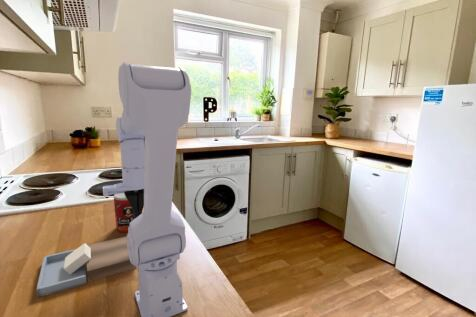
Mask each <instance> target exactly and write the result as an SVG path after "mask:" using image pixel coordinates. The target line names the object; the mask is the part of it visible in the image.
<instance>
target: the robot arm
mask: <svg viewBox="0 0 476 317" xmlns="http://www.w3.org/2000/svg"><path fill="white" fill-rule="evenodd" d="M117 81H118V91H119V92H118V94H119V99H120V101H121V104H122V107H123V108H122V109H123V111H122V114H121V116H117V117H116V121H115V129H116V130H115V131H116V136H117V139H118V142H119V147H120V148H119V150H120V163H121V176H122V182H120V183H115V184H111V185H104V186H102V196H103V198H104V197H109V196H111V195H113V196H114V194H120V193H124V194H125V196H126V198H127V200H128V201H129V203H130V205H131V207H132V210H133V214H134V218H135V219H134V220H133V221H132V222H130V226H129V227H128V232H127V235H126V236H127V246H128V254H129V259H130V262H131V264H133V265H134V266H137V275H138V288H139V290H136V291H134V296H135V299H136V303H137V306H138V307H137V308H138V309H139V312H140V313H139V314H140V316H141V317H173V316H176V315H177V314H181V313H182V312H183V313H184V312H185V311H188V306H189V305H188V304H187V302H186V301H185V299H184V296H183V282H182V279H181V277H180V275H179V272H178V260H180V259H181V258H180V256H181V255H180V254H182V253H184V252H185V249H186V247H187V239H186V227H185V223H184V220H183V219H182V217H181V216H180V214H179V213H178V212H176V211H174V210H171V209H172V207H173V196H174V195H173V194H174V184H175V183H174V182H175V169H176V168H175V167H176V158H177V148H178V147H177V145H178V137H179V132H180V130H179V129H180V128H182V127H183V126H185V125H186V124H187V123H188V121H189V115H190V110H191V98H192V97H191V96H192V86H191V81H190V76H189V74H188V73H187V71H186V70H185V68H183V67H178V68H175V67H165V66H158V65H157V66H154V65H147V64H146V65H144V64H134V63H129V62H122V63H121V65H119V66H118V80H117Z"/></svg>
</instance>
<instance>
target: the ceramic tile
mask: <svg viewBox="0 0 476 317" xmlns="http://www.w3.org/2000/svg"><path fill="white" fill-rule="evenodd" d="M88 245H89V244H87V243H86V242H84V243H83V244H82V245H80V246H78V248H75V249H76V250H75V251H73V252H72V253H71V254H69V255H68V256H67V257H65V263H64V270H65V271H66V272H68V273H69V274H72V273H73V272H74V271H76V270H77V269H78V268H79V267H81V266H82V265H83V264H85V263H86V264H87V261H88V260H90V259H91V248H90V247H89V246H88Z"/></svg>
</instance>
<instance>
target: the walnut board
mask: <svg viewBox="0 0 476 317" xmlns="http://www.w3.org/2000/svg"><path fill="white" fill-rule="evenodd" d="M87 245H88V246H89V247H90V248H91V259H90V260H88V261H87V262H86V277H87V282H91V281H95V280H98V279H102V278H105V277H108V276H109V277H110V276H113V275H116V274H120V273H122V272H126V271H130V270H134V269H136V268H137V269H138V266H134V265H133V264H131V262H130V259H129V254H128V246H127V235H126V236H123V237H118V238H112V239H108V240H105V241H100V242H95V243H91V244H87Z"/></svg>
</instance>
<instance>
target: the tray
mask: <svg viewBox="0 0 476 317" xmlns="http://www.w3.org/2000/svg"><path fill="white" fill-rule="evenodd" d="M76 249H77V248H75V249H71V250H66V251H62V252H57V253H53V254H49V255H44V256H43V260H42V262H41V268H40V272H39V277H38V280H37V281H38V282H37V286H36V295H37V298H38V297H39V298H41V297H40V296H42V297H44V296H43V295H46V294H49V295H51V294H50V293H53V294H55V293H58V292H62V291H66V290H69V289H73V288H77V287H79V286H83V285H86V284H87V283H88V281H87V262H86V263H85V264H83V265H82V266H81V267H79V268H78V269H77V270H76V271H74V272H73V273H72V274H69V273H68V272H66V271H65V270H64V263H65V257H67V256H68V255H69V254H71V253H72V252H73V251H75V250H76ZM87 285H88V284H87ZM46 296H47V295H46Z"/></svg>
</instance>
